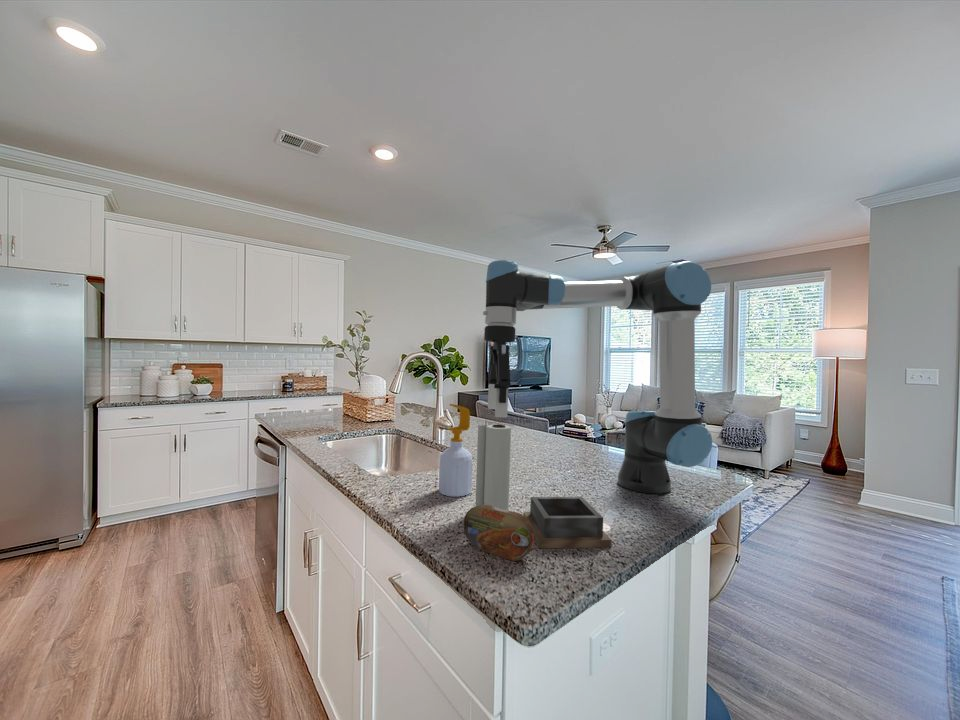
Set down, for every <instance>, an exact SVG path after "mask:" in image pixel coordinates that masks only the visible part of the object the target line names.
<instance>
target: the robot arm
mask: <svg viewBox="0 0 960 720" xmlns="http://www.w3.org/2000/svg"><path fill="white" fill-rule="evenodd" d="M485 285H486V287H485V288H486V289H485V311H483V312H482V315H483V316H485V319H484V323H485V324H486V326H484V333H483V334H484V337H483V339H484V342H487V343H488V342H489V343H493V345H490V349H489V350H490V351H489V355H490V356H489V366H488V374H487V381H488V394H487V410H494V417H495V418H508V407H509V387H510V386H511V384H512V383H511V372H510V371H511V370H510V345H509V344H508V343H515V341H516V328H515V325H516V324H517V312H524V311H528V310H544V309H545V310H548V309H573V308H574V309H578V308H581V309H582V308H605V307H606V308H608V307H616V308H617V309H619V310H621V311H622V310H623V311H624V310H634V311H635V310H637V311H652V314H653V317H655V318H656V319H657V320H658V321H659V322H658V323H659V324H658V325H659V328H658V329H659V331H658V332H659V408H657V410H632V411H631V410H630V411H628V412H627V413H626V415H625V422H624V425H625V427H624V430H625V432H624V459H623V461H622V464H621V467H620V468H619V471H618V473H617V484H618V485H619V486H621V487H623V488H624V489H627V490H631V491H634V492H638V493H645V494H666V493H669V492H671V490H672V481H671V477H670V474H669V471H668V468H667V465H666V462H669V463H671V464H672V465H675V466H681V467H685V468H694V467H697V466H698V465H700V464H702V463H703V462H704V461H705V459H707V458H708V456H709V455H710V453H711V451H712V448H713V438H712V435H711V432H710V431H709V429H708V428H706V427H705V426H704V425H703V424H702V421H703V420H702V419H703V418H702V414H701V412H699V411H698V410H697V409H696V364H695V363H696V362H695V361H696V360H695V359H696V358H695V357H696V355H695V354H696V353H695V351H696V350H695V348H696V346H695V339H696V337H695V336H696V335H695V334H696V333H695V330H696V329H695V326H696V325H695V324H696V323H695V320H696V318H698V316H700V314H701V313H702V304H703V303H704V302H706V301H707V299H708V297H710V294H711V292H712V282H711V278H710V275H709V274H708V272H707V270H706V269H705V268H703V266H702V265H700V264H699V263H698V262H695V261H689V260H687V261H681V262H674V263H671V264H669V265H666V266H663V267H661V268H656V269H654V270H650V271H647V272H644V273H641V274H637V275H633V276H632V275H631V276H623V277H622V276H621V277H619V278H618V279H617V280H590V281H587V280H585V281H581V280H579V281H565V280H564V278H563V277H562V276H561V275H556V274H551V273H549V274H546V273H538V272H537V273H536V272H525V271H524V272H523V271H519V264H518V263H517V262H515V261H511V260H509V259H507V260H506V259H499V260H494V261H491V262H490V263H489V264H488V265H487V271H486V279H485ZM506 343H507V344H506Z"/></svg>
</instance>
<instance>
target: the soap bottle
mask: <svg viewBox="0 0 960 720" xmlns="http://www.w3.org/2000/svg"><path fill="white" fill-rule="evenodd" d="M449 406H450V407H453V408H457V409H458V411H459V424H458V426H454V427H453V426H452V427H447V429H446V430H448V431H451V433H452V434H453V437H451V438H450V446H449V447H447V448H446V449H445V450H443V451H442V452H441V454H440V456H439V471H438V475H439V477H438V492H439V493H440V494H441V495H443V496H445V495H446V497H451V498H459V497H460V496H461V497H465V495H466V496H468V495H470V494H471V493H472V490H473V489H472V487H473V486H472V484H473V481H472V480H473V455H472V453H471V452H470V451H469V450H468V449H466V448H464V447H463V444H464V443H463V438H462V437H461V434H462V432H465V431H468V430H469V429H470V425H471V423H470V420H471V419H470V417H471V412H470V409H469V408H467V407H465V406H462V405H458V404H453V403H449Z"/></svg>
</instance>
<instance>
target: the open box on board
mask: <svg viewBox="0 0 960 720" xmlns="http://www.w3.org/2000/svg"><path fill="white" fill-rule="evenodd" d="M523 516H525V517H526V518H527V519H528V520H529V521H530V523H531V525H532V527H533V529H534V535H535V543H536V545H537V547H538V549H574V548H578V549H579V548H581V549H582V548H583V549H584V548H585V549H587V548H612V539H611V537H609V535H608V534H606V532H605V531H604V516H602V515H601V514H600V513H599V512H598V510H596V509H595V508H594V507H593V506H592V505H591V504H590V503H589V502H588V501H587V500H586V499H585V498H584V497H583V496H530V510H529V511H523Z"/></svg>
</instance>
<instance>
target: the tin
mask: <svg viewBox="0 0 960 720" xmlns="http://www.w3.org/2000/svg"><path fill="white" fill-rule="evenodd" d="M463 531H464V534H465V537H466V540H468V542H469V544H470V545H471V546H472V547H473V548H475V549H477V550H479V551H481V552H485V553H488V554H491V555H495V556H497V557H500V558H503V559H506V560H508V561H513V562H515V561H516V562H517V561H521V560H523V559H524V558H525V557H526V556H527V555H529V554H530V552H531V551H532V550H533V548H534V545H535V543H536V541H535V535H534V529H533V527H532V525H531V523H530V521H529V520H528V519H527V518H526V517H525V516H524V514H521V512H515V511H512V510H505V509H501V508H497V507H493V506H489V505H479V506H476V505H475V506H472V507H471V508H470V509H468V510H467V512H466V513H465V515H464V519H463Z"/></svg>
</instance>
